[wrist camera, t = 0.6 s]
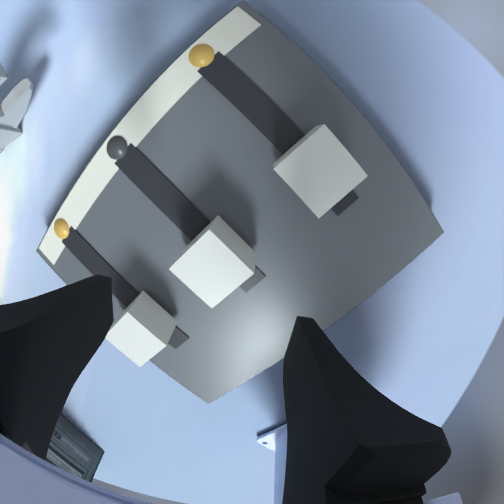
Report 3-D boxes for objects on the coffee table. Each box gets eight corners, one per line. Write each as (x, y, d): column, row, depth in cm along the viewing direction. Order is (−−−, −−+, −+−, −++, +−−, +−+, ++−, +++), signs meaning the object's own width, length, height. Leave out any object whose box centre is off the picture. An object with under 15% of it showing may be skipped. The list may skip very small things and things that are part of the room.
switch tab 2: (353, 169, 15) (367, 176, 13) (311, 205, 16) (318, 218, 14) (315, 126, 14) (324, 123, 12) (272, 163, 15) (273, 169, 13)
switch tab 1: (177, 321, 19) (166, 345, 17) (152, 343, 20) (140, 367, 18) (143, 290, 19) (127, 311, 16) (120, 314, 19) (104, 336, 17)
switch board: (430, 223, 18) (445, 232, 16) (211, 386, 24) (208, 404, 22) (246, 13, 14) (243, -1, 12) (50, 241, 20) (35, 251, 18)
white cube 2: (256, 253, 17) (254, 273, 15) (219, 285, 18) (211, 308, 16) (218, 215, 16) (209, 229, 14) (182, 250, 17) (168, 269, 15)
